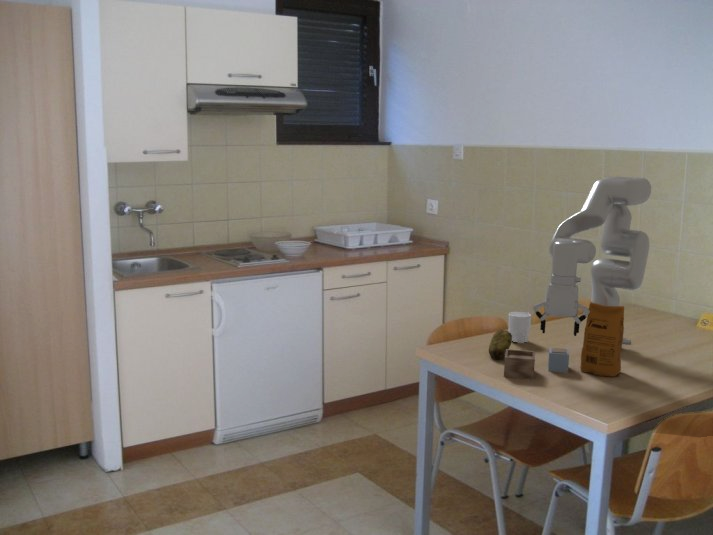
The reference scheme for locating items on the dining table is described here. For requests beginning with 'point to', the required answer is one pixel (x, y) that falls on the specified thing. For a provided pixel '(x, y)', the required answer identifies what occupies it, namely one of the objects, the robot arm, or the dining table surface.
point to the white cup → (519, 326)
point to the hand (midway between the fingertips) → (559, 333)
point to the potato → (500, 344)
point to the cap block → (558, 360)
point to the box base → (519, 364)
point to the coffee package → (603, 340)
